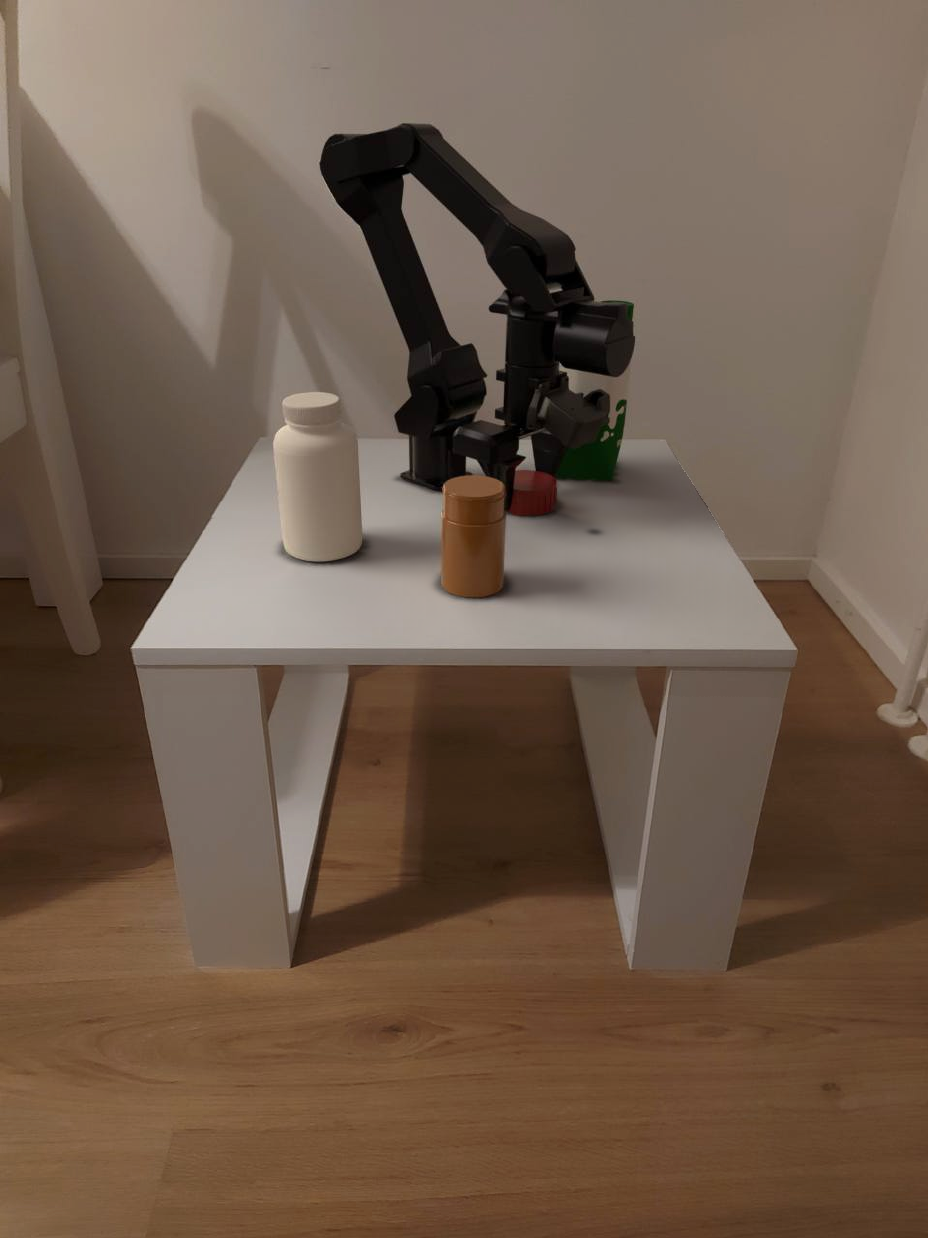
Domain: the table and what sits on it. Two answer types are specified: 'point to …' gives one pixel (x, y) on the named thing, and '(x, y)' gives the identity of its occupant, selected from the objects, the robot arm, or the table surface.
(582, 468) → the soya milk
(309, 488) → the pill bottle
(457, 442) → the robot arm
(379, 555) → the table surface
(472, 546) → the jar
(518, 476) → the lid
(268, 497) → the table surface
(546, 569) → the table surface
